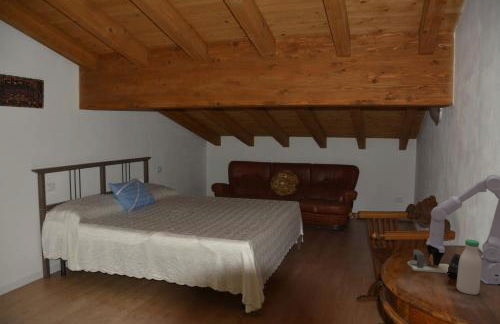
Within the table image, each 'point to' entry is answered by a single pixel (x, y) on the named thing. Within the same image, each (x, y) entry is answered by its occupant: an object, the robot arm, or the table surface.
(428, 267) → the board
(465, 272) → the milk bottle
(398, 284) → the table surface
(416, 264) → the hook rod
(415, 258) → the eye post
